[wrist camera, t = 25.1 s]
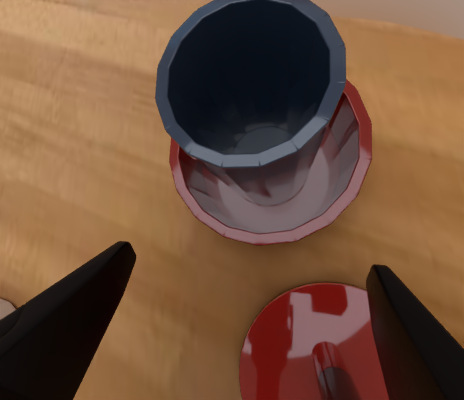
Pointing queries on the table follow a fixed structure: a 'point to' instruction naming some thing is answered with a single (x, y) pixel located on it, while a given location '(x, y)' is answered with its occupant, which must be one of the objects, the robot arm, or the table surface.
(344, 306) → the lid
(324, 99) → the crock
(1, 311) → the white cup
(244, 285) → the table surface
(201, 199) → the dutch oven
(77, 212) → the table surface
